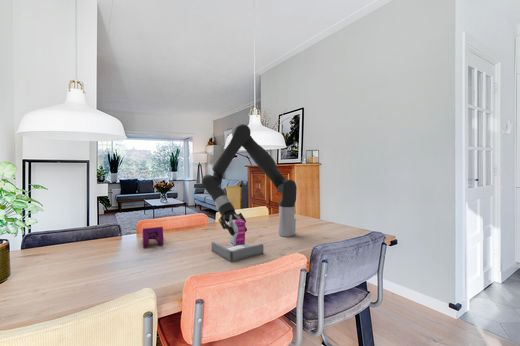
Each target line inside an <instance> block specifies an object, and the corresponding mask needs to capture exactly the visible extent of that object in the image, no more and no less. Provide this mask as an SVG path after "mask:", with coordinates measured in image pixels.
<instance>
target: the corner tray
mask: <svg viewBox="0 0 520 346" xmlns="http://www.w3.org/2000/svg"><path fill="white" fill-rule="evenodd" d="M210 247H211V249H210V250H211V252H213V253H215V254H216V255H218V256H220V257H221V258H222V259H224V260H226V261H228V262H229V263H233V262H236V261H240V260H245V259H247V258H252V257H255V256H258V255H259V256H260V255H263V254H264V244H263V243H261V244H255V245H249V244H247V243H245V245H237V246H233V245H232V244H230V245H229V244H228V245H224V246H223V245H221V244H219V243H217V242H216V241H211V246H210Z"/></svg>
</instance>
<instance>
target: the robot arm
mask: <svg viewBox="0 0 520 346" xmlns="http://www.w3.org/2000/svg"><path fill="white" fill-rule="evenodd" d="M251 132H252V131H251V129H250V127H249V126H248V125H247V124H244V123H239V124H236V125H234V126H233V127H232V129H231V136H232V137H231V139H230V141H229V143H228V145H227V146H226V147H225V148H224V149H223V151H222V152H221V153H220V155H218V158H217V159H216V160H215V162H214V164H213V165H212V168H211V169H212V171H213V174H212V175H211V174H204V175H203V177H202V178H201V185H202V187H203V189H205V191H206V193H207V194H208V195H210V197H211V199H212V201H213V202H214V205H215V208H216V209H217V212H218V213H219V214H220V217H219V218H218V222H219V224H220V226H221V228H222V229H223V230H227V231H228V233H229V235H230V236H231V235H232V236H233V235H234V234H235V232H234V230H233V228H232V227H231V223H232V220H239V219H242V220H243V221H245V224H246V223H247V220H246V218H245V216H244V215H243V214H242V212H239V213H236V209H235V207H234V205H233V204H232V201H230V199H229V197H228V196H227V195H226V193H225V191H224V189H223V188H221V187H220V185H221V183H222V181H223V178H224V174H225V173H226V171H227V170H228V168H229V166H230V164H231V163H232V161H233V159H234V158H235V156H236V154H237V153H238V152H239V150H240V149H241V148H244V150H245V151H246V153H248V155H249V157H250V158H251V159H252V160H253V162H254V163H255V164H256V165H257V167H258V168H259V169H260V170H261V171H262V173H263V174H265V176H266V177H267V178H268V179H269V180H270V181H271V182H272V184H273V186H274V187H275V188H276V190H277V191H278V193H280V194H282V195H281V200H279V202H278V236H280V237H284V238H285V237H286V238H288V237H289V238H290V237H294V236H295V235H296V225H297V224H296V222H297V221H296V218H295V214H296V213H295V212H296V211H295V208H296V207H295V205H296V201H297V184H296V182H295V180H292V179H287V178H286V177H284V175H283V174H282V173H281V172H280V170H279V169H278V166H277V164H276V161H275V160H274V158H273V157H272V155H271V154H270V153H269V152H268V151H267V150H266V149H265V148H263V147H262V146H261V145H260V144H258V142H256V140H254V138H253V137H252V136H251ZM247 228H248V227H247V226H246V225H245V233H247V231H248V229H247Z"/></svg>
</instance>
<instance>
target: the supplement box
mask: <svg viewBox="0 0 520 346" xmlns="http://www.w3.org/2000/svg"><path fill="white" fill-rule="evenodd" d="M245 226H246V223H245V221H243V220H242V219H239V220H232V223H231V227H232V228H233V230H234V232H235V234H234V235H233V236H232V235H231V234H230V245H233V246H237V245H245V244H246V232H245Z"/></svg>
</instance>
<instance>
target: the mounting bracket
mask: <svg viewBox="0 0 520 346" xmlns="http://www.w3.org/2000/svg"><path fill="white" fill-rule="evenodd" d="M163 227H164V226H159V227H158V226H157V227H148V228H142V246H143V248H147V247H149V242H150V240H149V239H157V245H158V246H162V245H164V228H163Z"/></svg>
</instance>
